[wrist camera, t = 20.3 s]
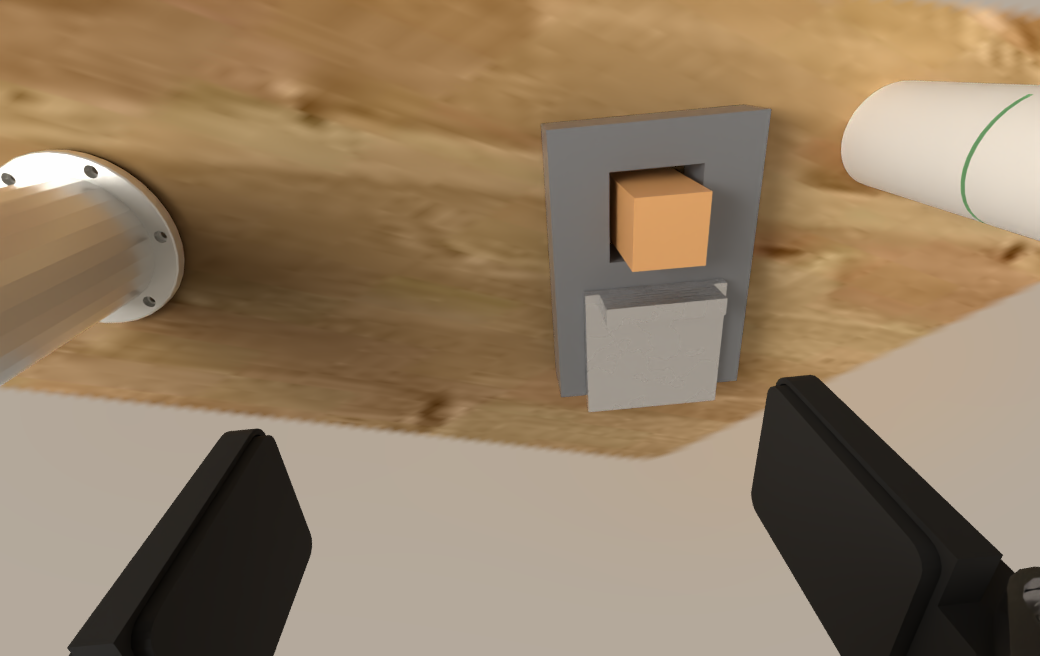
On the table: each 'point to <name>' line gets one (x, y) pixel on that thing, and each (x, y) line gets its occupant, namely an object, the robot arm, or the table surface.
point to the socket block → (585, 213)
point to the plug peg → (659, 219)
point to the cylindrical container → (953, 149)
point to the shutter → (653, 344)
